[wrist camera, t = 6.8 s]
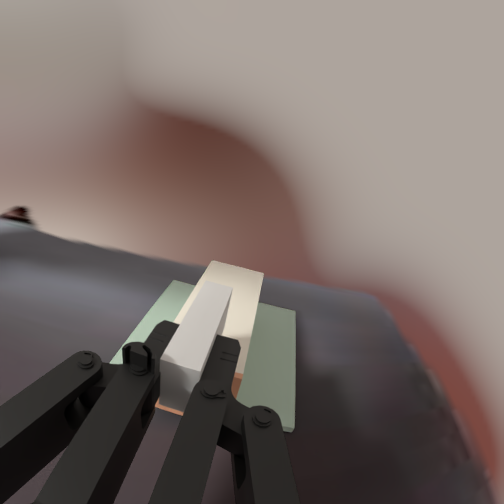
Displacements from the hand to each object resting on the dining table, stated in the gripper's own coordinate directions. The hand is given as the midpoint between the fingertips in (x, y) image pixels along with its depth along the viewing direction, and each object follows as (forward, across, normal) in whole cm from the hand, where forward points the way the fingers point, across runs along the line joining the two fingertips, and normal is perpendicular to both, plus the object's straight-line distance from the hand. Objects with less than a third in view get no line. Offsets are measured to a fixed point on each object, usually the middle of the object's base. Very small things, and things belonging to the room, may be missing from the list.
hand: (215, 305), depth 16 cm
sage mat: (+7, 0, -8) cm, 11 cm away
